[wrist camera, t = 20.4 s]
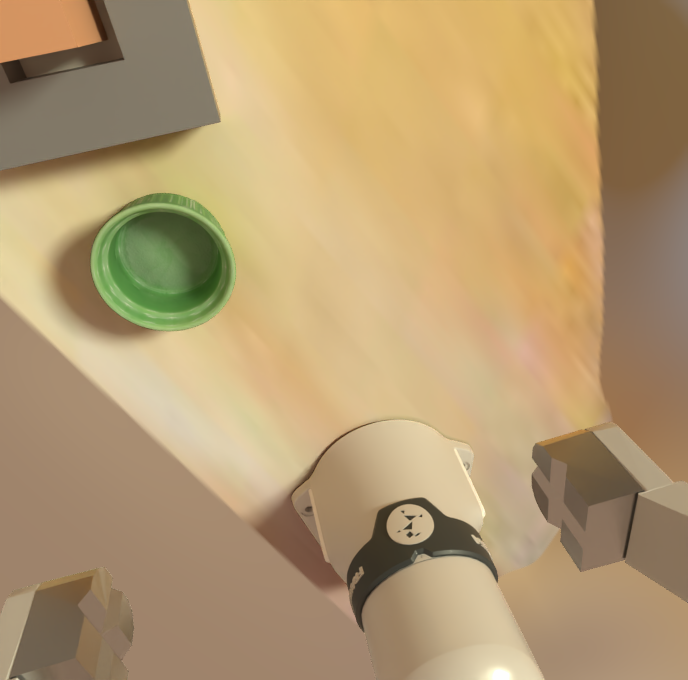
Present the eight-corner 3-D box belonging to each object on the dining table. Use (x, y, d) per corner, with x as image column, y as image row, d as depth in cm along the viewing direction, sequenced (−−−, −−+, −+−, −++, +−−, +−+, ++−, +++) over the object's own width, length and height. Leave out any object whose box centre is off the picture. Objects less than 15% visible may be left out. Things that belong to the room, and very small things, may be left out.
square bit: (108, 39, 30) (78, 47, 24) (37, 54, 30) (-14, 66, 23) (77, -46, 28) (35, -65, 22) (0, -32, 28) (-68, -46, 21)
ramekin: (257, 267, 40) (261, 293, 37) (154, 323, 41) (148, 353, 37) (188, 159, 36) (184, 176, 32) (73, 224, 36) (56, 248, 33)
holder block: (220, 111, 34) (220, 122, 31) (-3, 159, 33) (-27, 176, 30) (137, -185, 27) (126, -213, 23) (-154, -135, 26) (-210, -157, 22)
